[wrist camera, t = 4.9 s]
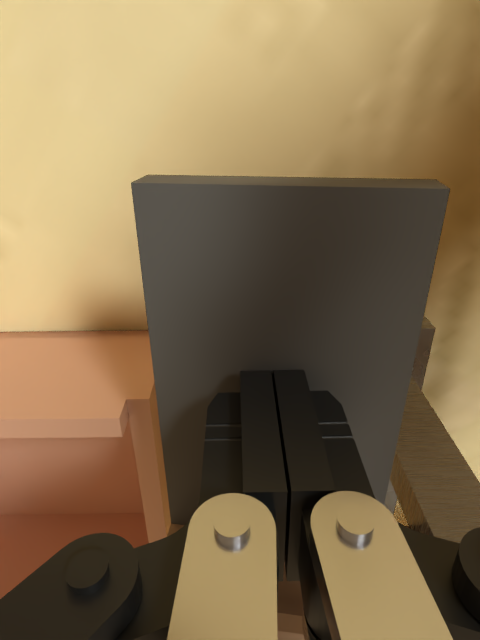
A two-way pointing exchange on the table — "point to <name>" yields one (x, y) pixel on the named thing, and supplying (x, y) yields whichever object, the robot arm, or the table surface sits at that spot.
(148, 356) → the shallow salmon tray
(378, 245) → the lever trough
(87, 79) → the table surface
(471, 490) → the lever stand
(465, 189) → the table surface
